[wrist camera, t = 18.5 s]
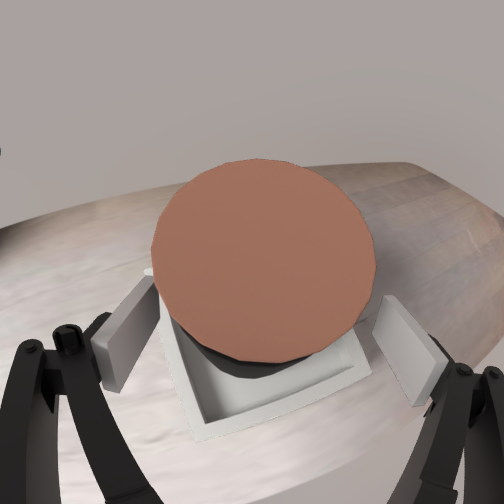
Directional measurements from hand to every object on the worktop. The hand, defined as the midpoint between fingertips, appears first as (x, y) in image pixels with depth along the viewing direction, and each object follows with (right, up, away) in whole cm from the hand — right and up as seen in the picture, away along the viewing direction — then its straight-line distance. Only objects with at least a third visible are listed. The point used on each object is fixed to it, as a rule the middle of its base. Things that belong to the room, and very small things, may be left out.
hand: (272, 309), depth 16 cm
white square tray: (-1, -7, +17) cm, 18 cm away
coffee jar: (-1, -5, +13) cm, 14 cm away
